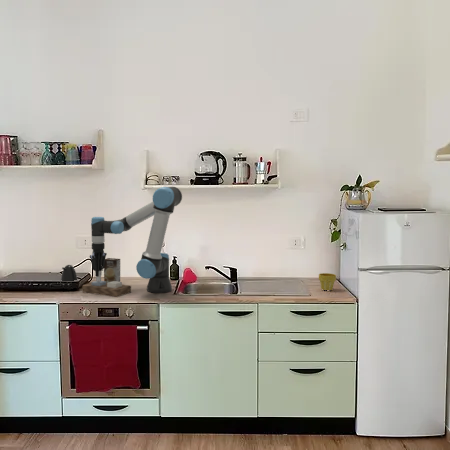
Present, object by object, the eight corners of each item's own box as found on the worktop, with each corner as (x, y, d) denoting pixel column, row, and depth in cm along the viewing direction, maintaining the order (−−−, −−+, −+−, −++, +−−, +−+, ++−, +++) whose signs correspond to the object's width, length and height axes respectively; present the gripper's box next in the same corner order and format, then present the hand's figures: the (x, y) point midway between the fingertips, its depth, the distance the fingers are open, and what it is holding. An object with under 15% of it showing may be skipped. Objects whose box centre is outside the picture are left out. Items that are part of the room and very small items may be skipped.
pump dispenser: (56, 290, 313) (56, 265, 311) (69, 286, 322) (68, 262, 320) (69, 291, 308) (68, 266, 306) (81, 288, 317) (81, 264, 316)
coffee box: (103, 284, 330) (103, 259, 329) (108, 282, 337) (107, 257, 335) (116, 284, 328) (116, 260, 327) (121, 282, 334) (120, 258, 333)
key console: (130, 292, 308) (130, 285, 307) (117, 296, 296) (116, 290, 296) (97, 287, 320) (97, 281, 319) (82, 291, 308) (82, 285, 308)
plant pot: (330, 287, 324) (330, 272, 323) (338, 291, 314) (339, 275, 313) (315, 288, 320) (315, 273, 319) (323, 292, 311) (323, 276, 310)
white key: (121, 287, 306) (121, 282, 306) (115, 289, 301) (115, 283, 301) (113, 286, 309) (113, 281, 309) (107, 288, 304) (107, 282, 303)
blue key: (106, 286, 312) (105, 281, 311) (99, 288, 306) (99, 283, 306) (98, 285, 314) (98, 280, 314) (91, 287, 309) (91, 282, 309)
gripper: (100, 241, 315) (100, 278, 318) (85, 243, 304) (86, 282, 306) (110, 241, 312) (110, 280, 314) (95, 244, 300) (96, 284, 303)
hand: (98, 281), depth 310 cm, fingers closed
